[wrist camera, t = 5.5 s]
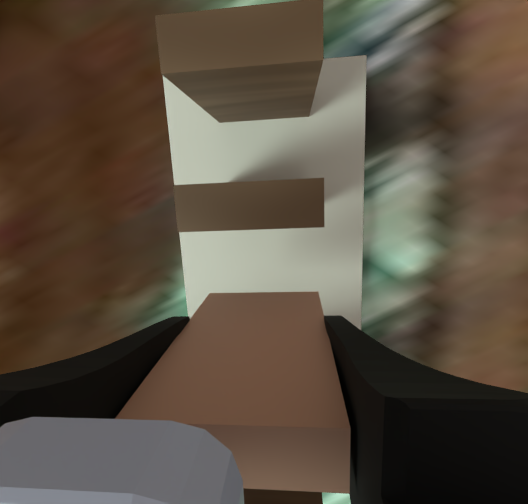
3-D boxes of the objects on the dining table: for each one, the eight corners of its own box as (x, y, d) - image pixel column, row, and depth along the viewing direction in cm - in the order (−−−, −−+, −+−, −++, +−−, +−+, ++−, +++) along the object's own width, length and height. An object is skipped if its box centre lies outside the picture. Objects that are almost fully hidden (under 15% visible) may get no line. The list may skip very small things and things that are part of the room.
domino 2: (310, 208, 18) (324, 227, 10) (226, 211, 19) (178, 232, 11) (310, 180, 18) (324, 177, 10) (224, 184, 18) (172, 185, 10)
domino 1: (309, 116, 17) (323, 59, 9) (219, 122, 17) (160, 74, 10) (308, 84, 17) (323, -3, 9) (217, 91, 17) (154, 15, 9)
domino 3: (318, 324, 14) (349, 493, 7) (212, 324, 15) (123, 482, 7) (318, 291, 14) (350, 428, 6) (209, 293, 14) (112, 421, 7)
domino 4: (314, 429, 21) (326, 571, 13) (241, 427, 22) (213, 563, 14) (313, 409, 21) (326, 543, 13) (240, 407, 21) (210, 535, 14)
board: (356, 451, 22) (358, 457, 21) (204, 446, 23) (202, 452, 22) (364, 58, 17) (366, 54, 16) (166, 75, 18) (162, 72, 17)
